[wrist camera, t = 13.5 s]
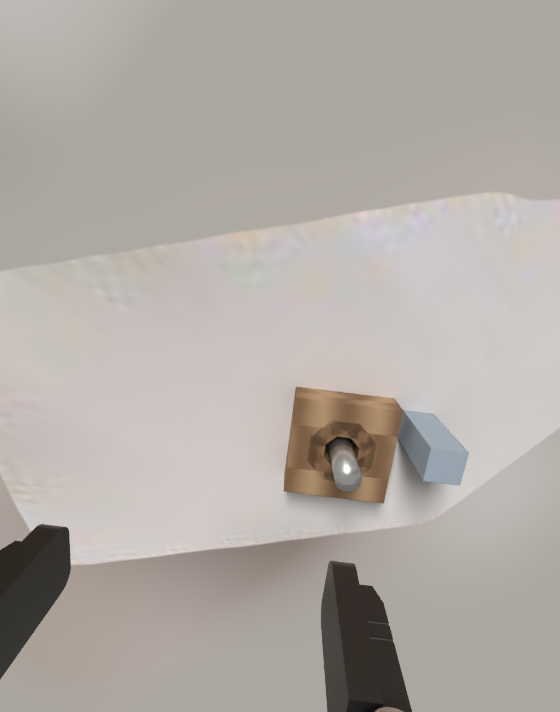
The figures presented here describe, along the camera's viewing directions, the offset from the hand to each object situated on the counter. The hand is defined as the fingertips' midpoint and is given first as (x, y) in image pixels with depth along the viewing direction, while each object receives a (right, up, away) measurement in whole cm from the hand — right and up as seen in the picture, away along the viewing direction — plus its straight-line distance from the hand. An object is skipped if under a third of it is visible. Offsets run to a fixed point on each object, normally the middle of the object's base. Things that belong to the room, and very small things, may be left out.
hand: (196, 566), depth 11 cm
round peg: (+10, -5, +38) cm, 40 cm away
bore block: (+10, -5, +38) cm, 40 cm away
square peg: (+21, -3, +37) cm, 43 cm away
